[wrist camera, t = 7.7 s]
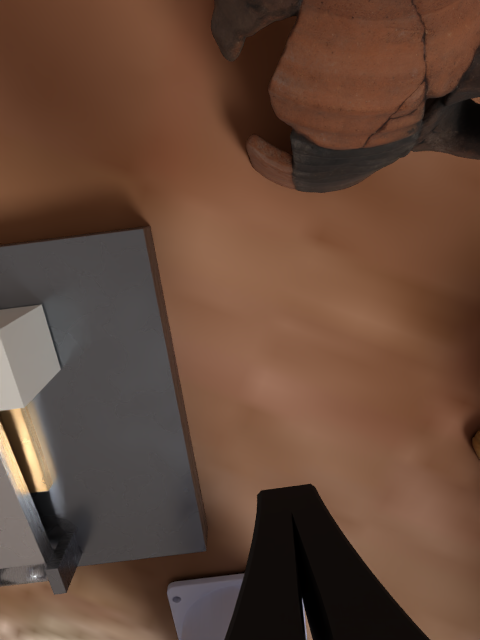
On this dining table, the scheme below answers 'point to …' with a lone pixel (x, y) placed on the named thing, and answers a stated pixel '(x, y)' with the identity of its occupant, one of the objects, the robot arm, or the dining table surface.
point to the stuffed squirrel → (477, 443)
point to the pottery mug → (362, 84)
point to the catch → (24, 355)
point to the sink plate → (103, 405)
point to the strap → (19, 526)
